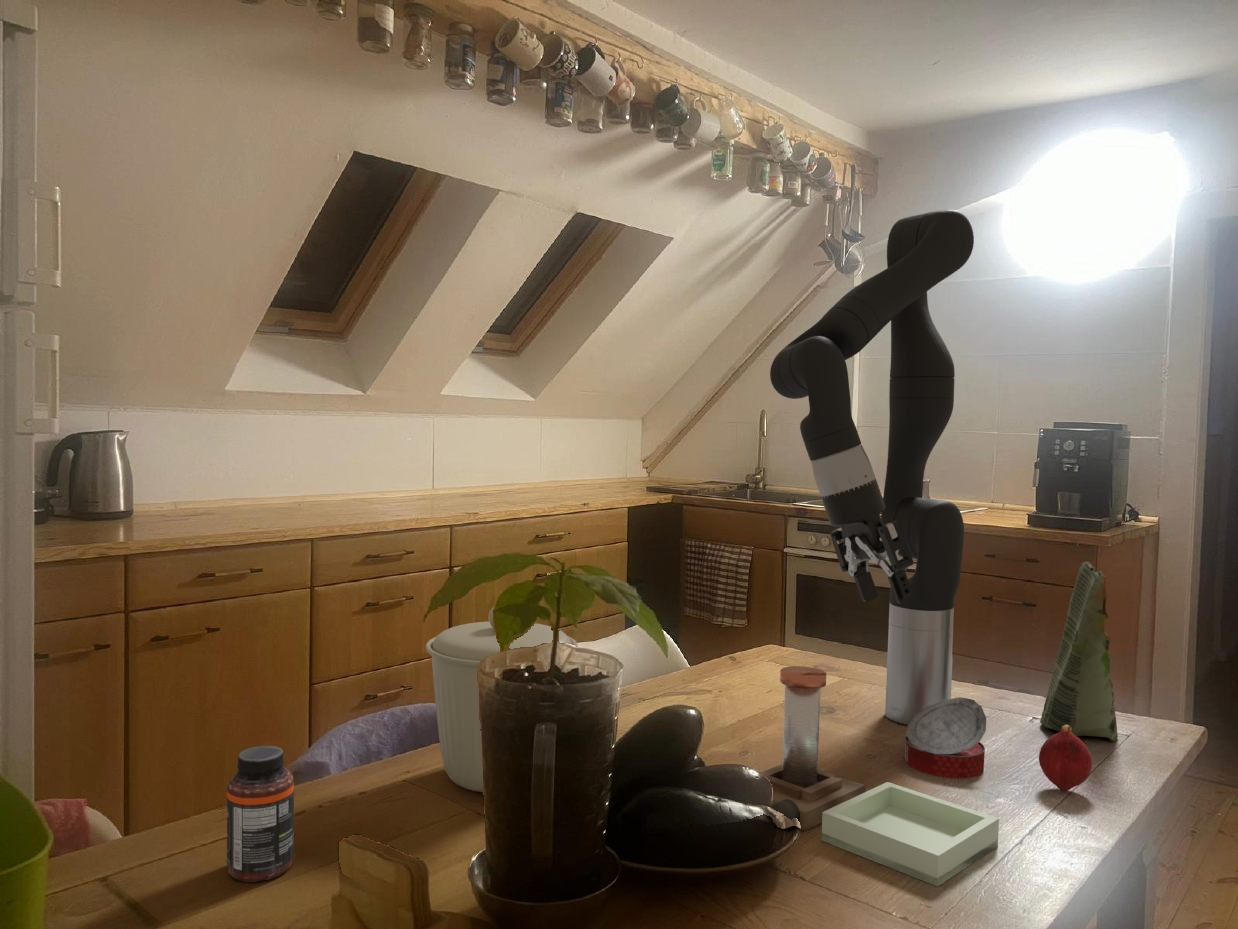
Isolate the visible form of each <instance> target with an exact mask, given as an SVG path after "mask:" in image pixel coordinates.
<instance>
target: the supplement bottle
mask: <svg viewBox="0 0 1238 929" xmlns="http://www.w3.org/2000/svg"><path fill="white" fill-rule="evenodd" d="M237 758H238V759H237V767H236V768H237V769H238V770H237V772H236V773H234V774H233V775H232V776H231V778H230V779H229V781H228V782H227V786H226V788H227V789H226V828H227V829H226V847H227V848H226V866H227V872H228V874H229V876H230V877H232V878H234V879H235V880H238V881H241V882H261V881H262V882H263V881H268V880H271V879H273V878H276V877H278V876H280V875H283V874H284V873H285V872H287V871H288V870H289V869H290V868H291V866H292V864H293V861H294V853H295V852H294V851H295V849H294V848H295V846H294V843H295V841H294V840H295V839H294V836H295V835H294V834H295V833H294V832H295V829H294V828H295V827H294V826H295V825H294V824H295V823H294V822H295V820H294V819H295V816H294V815H295V814H294V813H295V808H294V807H295V802H294V801H295V782H294V780H295V779H294V775H293V774H292V772H291V771H290V769H288V768H285V766H284V763H285V762H284V751H283V749H282V748H281V747H279V746H278V747H277V746H274V745H261V746H254V747H253V746H252V747H248V748H246V749H244V750H241V752H239V754H238V757H237Z"/></svg>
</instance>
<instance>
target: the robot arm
mask: <svg viewBox="0 0 1238 929" xmlns="http://www.w3.org/2000/svg"><path fill="white" fill-rule="evenodd" d="M974 239H975V236H974V230H973V226H972V224H971V222H970V220H969V219H968V216H966V215H965V214H964V213H963V212H961V211H959V210H955V209H939V210H934V211H928V212H924V213H920V214H919V213H918V214H914V215H911V216H906V217H903V218H900V219H898V220H897V221H896V222H895V223H894V224H893V226H891V228H890V232H889V234H888V238H887V242H886V243H887V245H886V267H887V268H885V269H884V270H882V271H880V272H879V273H877V274H874V275H873V276H872V277H870V278H868V279H866V280H864V281H863V282H861V283H860V284H858V285H856V286H855V287H854V288H852V289H851V290H849V291H848V292H847V293H846V294H844V296H842V297H841V298H840V299H839V300H838V301H837V302H836V303H835V304H834V305H832V306H831V308H830V309H828V311H827V312H826V313H825V314H824V315H823V316H822V317H821V318H820V319H819V320H818V321H817V322H816V323H814V324H813V325H812V326H811V327H810V328H808V329H807V330H804V332H803V333H802V334H800V335H799V336H797V337H796V338H795V339H793V340H792V341H791V342H789V343H788V344H787V345H785V347H784V348H782V349H781V350H780V351H779V352H778V353H777V354H776V356H775V357H774V359H773V361H772V363H771V366H770V371H769V379H770V382H771V385H772V387H773V389H774V390H775V391H776V392H777V394H779V395H780V396H782V397H785V398H788V399H795V400H798V399H803V398H806V397H807V398H808V404H809V412H808V414H807V415H806V416H804V418H803V419H802V420H801V422H800V423H799V430H800V435H801V438H802V440H803V443H804V447H805V449H806V453H807V454H808V458H809V460H810V463H811V468H812V473H813V477H814V481H815V484H816V487H817V489H818V492H819V496H820V498H821V501H822V503H823V507H824V510H825V512H826V516H827V518H828V522H829V524H830V525H831V526H832V527H834V528H835V530H832V531H831V530H830V534H829V535H830V538H831V542H832V544H833V548H834V551H835V554H836V557H837V560H838V564H839V566H840V570H841V571H842V572H843V573H846V572H848V574H849V575H850V576H851V577H853V578H854V581H855V584H856V587H857V591H858V592H859V595H860V599H861V601H863V602H866V603H867V602H868V603H869V602H871V601H873V600H875V599H877V598H878V596H879V594H878V591H877V588H876V586H875V582H874V580H873V576H872V574H871V571H869V566H870V565H869V561H870V560H871V561H872V563H873V564H875V565H876V566H880V567H881V568H882V569H883V571H884V572H885V573H886V575H887V579H888V582H889V584H890V590H889V608H888V609H889V610H888V636H887V637H888V639H887V656H886V657H887V659H886V666H887V667H886V684H885V708H884V709H885V710H884V711H885V712H884V714H885V717H887V719H889V720H891V721H893V722H895V723H899V724H902V725H906V726H908V724H909V722H910V721H911V720H912V719H913V717H914V716H915V715H916V714H918V713H919V712H921V711H922V710H924V709H925V708H926V707H928V706H930V705H933V704H936V703H938V702H940V701H942V700H948V699H952V682H953V681H952V680H953V660H954V659H953V643H954V642H953V639H954V637H953V636H954V618H955V616H954V614H955V613H954V612H955V608H954V607H955V600H956V599H955V598H956V595H957V593H958V589H959V587H960V583H961V582H960V581H961V575H962V574H961V573H962V562H963V552H964V551H963V550H964V542H965V541H964V540H965V525H964V519H963V515H962V513H961V511H960V509H959V507H958V506H957V505H956V504H955V503H953V502H951V501H949V500H943V499H935V498H925V497H923V496H924V495H923V493H924V477H925V471H926V465H927V462H928V459H929V457H930V455H931V453H932V451H933V449H934V447H935V446H936V444H937V443H938V441H939V439H940V438H941V436H942V435H943V433H944V431H945V429H946V427H947V425H948V424H949V421H950V419H951V417H952V414H953V411H954V405H955V404H954V402H955V364H954V360H953V357H952V355H951V353H950V351H949V349H948V347H947V345H946V343H945V342H944V340H943V338H942V336H941V335H940V333H939V331H938V329H937V327H936V325H935V324H934V322H933V319H932V317H931V313H930V309H929V305H928V303H929V302H928V300H929V299H928V291H929V290H931V289H932V288H934V287H935V286H936V285H938V284H939V283H941V282H943V280H945V279H947V278H949V277H950V276H951V275H953V274H954V273H956V272H958V271H959V270H960V269H961V268H962V267H964V265H965V264H966V263H967V262H968V261H969V259H970V257H971V255H972V253H973V249H974V245H975V244H974V243H975V240H974ZM889 323H890V369H889V389H888V390H889V391H888V394H889V395H888V397H889V400H888V402H889V403H888V404H889V405H888V406H889V428H888V446H887V461H886V470H885V471H886V472H885V480H884V488H883V495H882V492H881V490H880V487H879V484H878V481H877V478H876V475H875V473H874V469H873V467H872V464H871V461H870V458H869V457H868V455H867V452H866V450H865V449H864V447H863V446H864V445H863V444H862V441H861V438H860V436H859V433H858V430H857V427H856V425H855V422H854V420H853V419H854V418H853V416H852V405H851V404H852V403H851V402H852V400H851V392H850V391H851V390H850V381H849V373H848V366H847V362H846V361H847V360H848V359H850V358H852V357H854V356H855V355H857V354H858V353H860V352H861V351H862V350H863V349H864V348H865V347H866V346H867V345H868V344H869V343H870V342H871V341H872V340H873V339H874V338H875V337H876V336H877V335H878V334H879V333H880V332H881V331H882V330H883V329H884V327H886V326H887V325H888V324H889ZM837 527H838V528H837ZM914 560H916V566H915V571H914V574H913V575H912V576H911V577H909V578H908V575H907V572H906V571H907V570H908V568H909V567H912V566H913V565H914Z"/></svg>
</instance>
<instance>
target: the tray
mask: <svg viewBox="0 0 1238 929" xmlns="http://www.w3.org/2000/svg"><path fill="white" fill-rule="evenodd" d="M999 824H1000V818H999V817H996V816H992V815H990V814H987V813H984V812H981V811H977V810H974V809H973V808H972V809H971V808H968V807H966V806H963V805H960V804H957V803H953V802H951V801H947V800H944V799H941V798H938V797H935V796H932V795H929V794H925V793H923V792H919V791H917V790H913V789H911V788H907V787H904V786H901V785H898V784H895V783H892V782H890V781H889V782H888V781H886V782H884V783H882V784H880V785H878V786H876V787H874V788H871V789H869V790H867V791H865V793H862V794H860V795H858V796H856V797H854V798H852V799H850V800H847V801H845V802H843V803H841V804H839V805H837V806H835V807H833V808H830V809H828V810H826V811H824V812H822V823H821V841H822V842H825V843H827V844H830V845H833V846H835V847H837V848H840V849H843V850H844V851H847V852H851V853H853V854H854V855H857V856H860V857H862V858H865V859H866V860H867V859H868V860H870V861H872V862H874V863H877V864H880V865H881V866H885V867H888V868H890V869H892V870H895V871H897V872H900V873H902V874H905V875H907V876H909V877H912V878H915V879H917V880H919V881H922V882H924V883H927V884H930V885H932V886H935V887H939V886H940V885H942V884H944V883H946V882H947V881H948V880H949V879H951V878H952V877H954V876H956V875H957V874H959V873H960V872H962V871H963V870H965V869H967V868H968V867H969V866H971V865H972V864H974V863H975V862H977V861H978V860H980V859H981V858H983V857H984V856H986V855H987V854H989V853H991V852H992V851H994V850H995V849H996V848H998V847H999V830H1000V829H999V827H1000V825H999ZM988 852H989V853H988ZM985 854H986V855H985ZM983 855H984V856H983ZM973 862H974V863H973ZM967 866H968V867H967Z"/></svg>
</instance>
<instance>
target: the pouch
mask: <svg viewBox="0 0 1238 929" xmlns="http://www.w3.org/2000/svg"><path fill="white" fill-rule="evenodd" d="M1106 582H1107V581H1106V575H1104V572H1103V570H1099V571H1097V570H1096V565H1094V566H1093V564H1092V563H1091V562H1089V561H1083V562H1082V563H1081V564H1080V567H1079V568H1078V574H1077V577H1076V579H1075V584H1074V586H1073V591H1072V594H1071V596H1070V601H1069V603H1068V604H1069V605H1068V611H1067V615H1066V620H1065V625H1064V630H1063V632H1062V637H1061V641H1060V643H1059V644H1060V645H1059V649H1058V652H1057V656H1056V660H1055V664H1054V667H1053V670H1052V675H1051V678H1050V682H1049V686H1048V690H1047V694H1046V697H1045V701H1044V705H1043V710H1042V712H1041V717H1040V719H1039V722H1040V723H1039V724H1041V725H1042V726H1043V727H1045V728H1047V729H1051V730H1054V731H1056V732H1058V733H1059V732H1060V731H1061V730H1062V726H1064V725H1068V726H1070V727H1071V728H1072V729H1071V732H1072V733H1073V734H1074V735H1075V736H1077V737H1078V736H1086V737H1087V736H1088V737H1098V738H1106V739H1108V741H1111V742H1116V741H1117V739H1118V737H1119V735H1118V726H1117V724H1118V723H1117V718H1116V717H1117V716H1116V707H1115V704H1114V702H1115V694H1114V690H1113V689H1114V688H1113V686H1114V685H1113V682H1112V678H1111V659H1110V656H1109V653H1108V650H1110V642H1111V641H1110V640H1111V639H1110V638H1111V636H1110V635H1109V634H1107V632H1106V631H1105V623H1106V621H1107V620H1108V619H1110V616H1109V615H1108V613H1107V610H1106V609H1107V608H1106V602H1107V592H1106V586H1107V583H1106Z"/></svg>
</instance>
